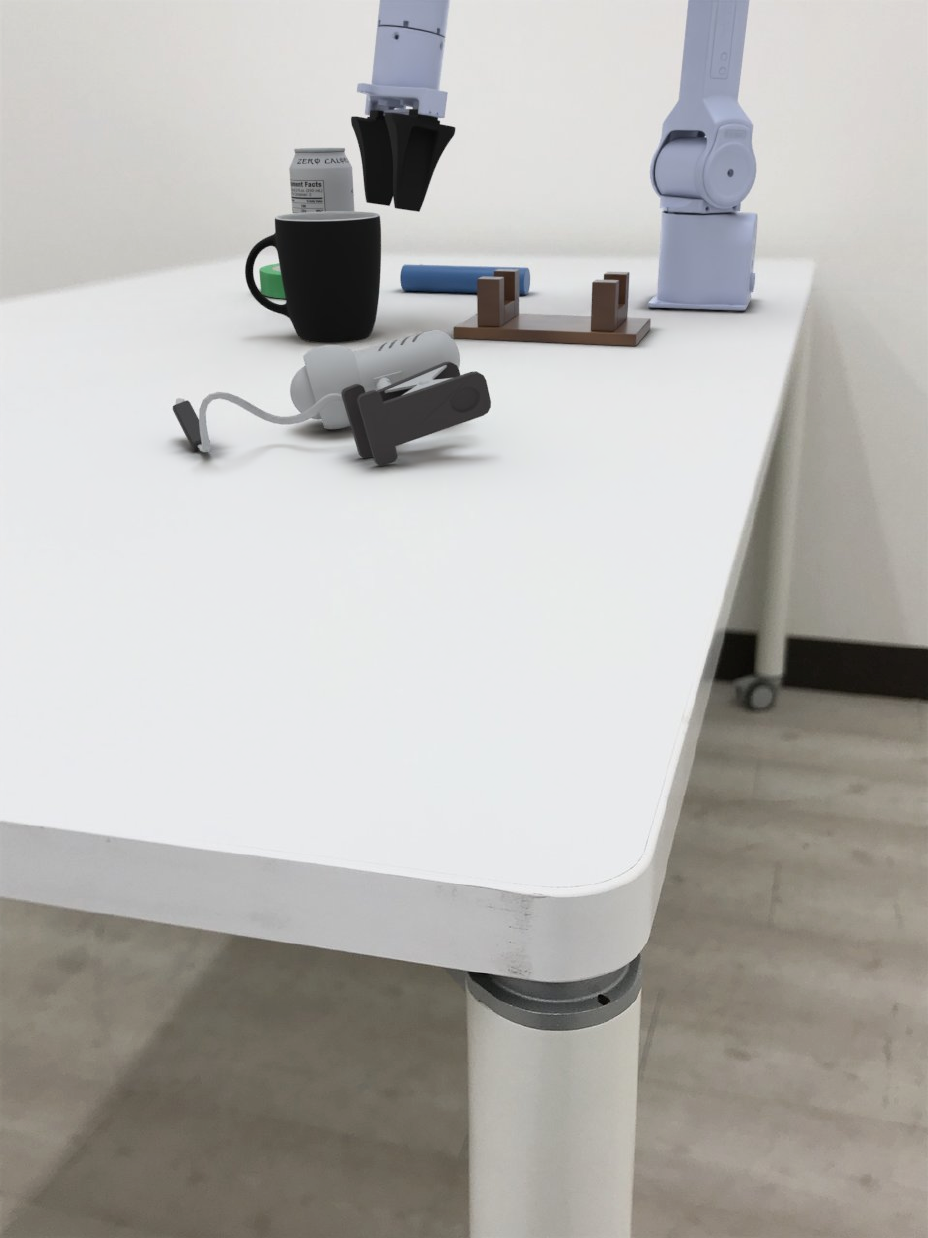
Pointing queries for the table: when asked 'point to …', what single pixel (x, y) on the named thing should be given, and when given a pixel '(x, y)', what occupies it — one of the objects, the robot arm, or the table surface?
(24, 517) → the table surface
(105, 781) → the table surface
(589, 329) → the holder
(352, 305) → the mug
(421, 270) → the handle
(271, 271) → the tape roll
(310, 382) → the clip-on lamp
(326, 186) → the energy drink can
